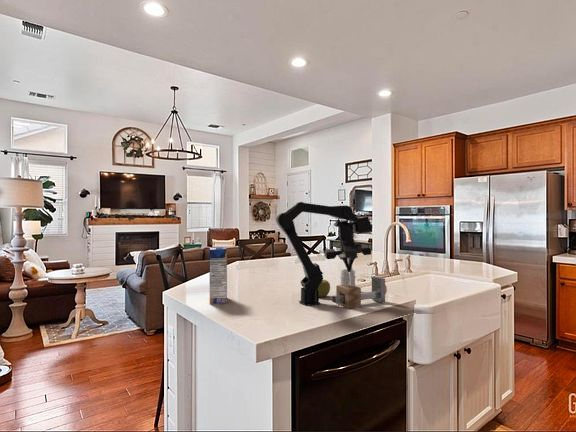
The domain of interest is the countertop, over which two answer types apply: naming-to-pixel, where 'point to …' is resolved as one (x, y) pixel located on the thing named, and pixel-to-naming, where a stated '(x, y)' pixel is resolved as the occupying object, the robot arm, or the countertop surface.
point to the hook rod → (375, 294)
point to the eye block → (349, 295)
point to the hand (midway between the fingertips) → (349, 271)
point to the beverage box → (218, 275)
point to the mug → (347, 277)
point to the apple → (324, 288)
